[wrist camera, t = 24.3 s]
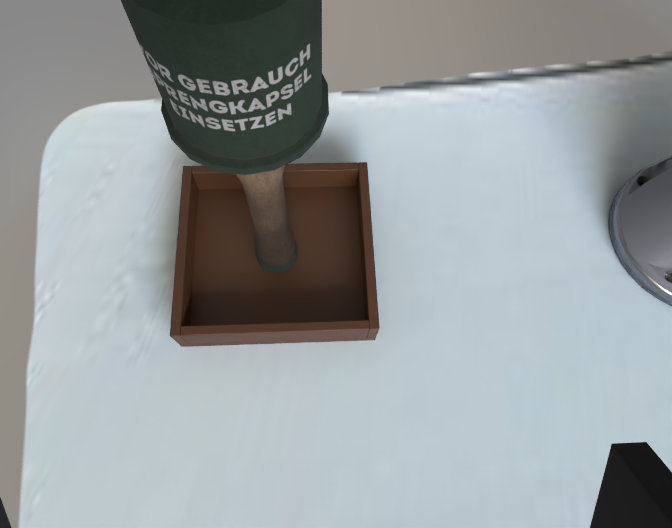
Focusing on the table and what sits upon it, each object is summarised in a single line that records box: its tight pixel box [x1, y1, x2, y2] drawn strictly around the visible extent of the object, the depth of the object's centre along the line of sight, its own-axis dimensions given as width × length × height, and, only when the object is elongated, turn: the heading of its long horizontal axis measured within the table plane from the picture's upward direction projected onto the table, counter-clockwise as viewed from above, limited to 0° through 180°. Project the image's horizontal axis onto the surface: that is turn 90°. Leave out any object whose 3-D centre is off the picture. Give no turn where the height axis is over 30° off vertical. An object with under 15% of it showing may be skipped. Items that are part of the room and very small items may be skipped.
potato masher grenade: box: [121, 0, 329, 273], centre depth 33 cm, size 8×9×30 cm
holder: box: [170, 162, 379, 346], centre depth 46 cm, size 17×16×4 cm
